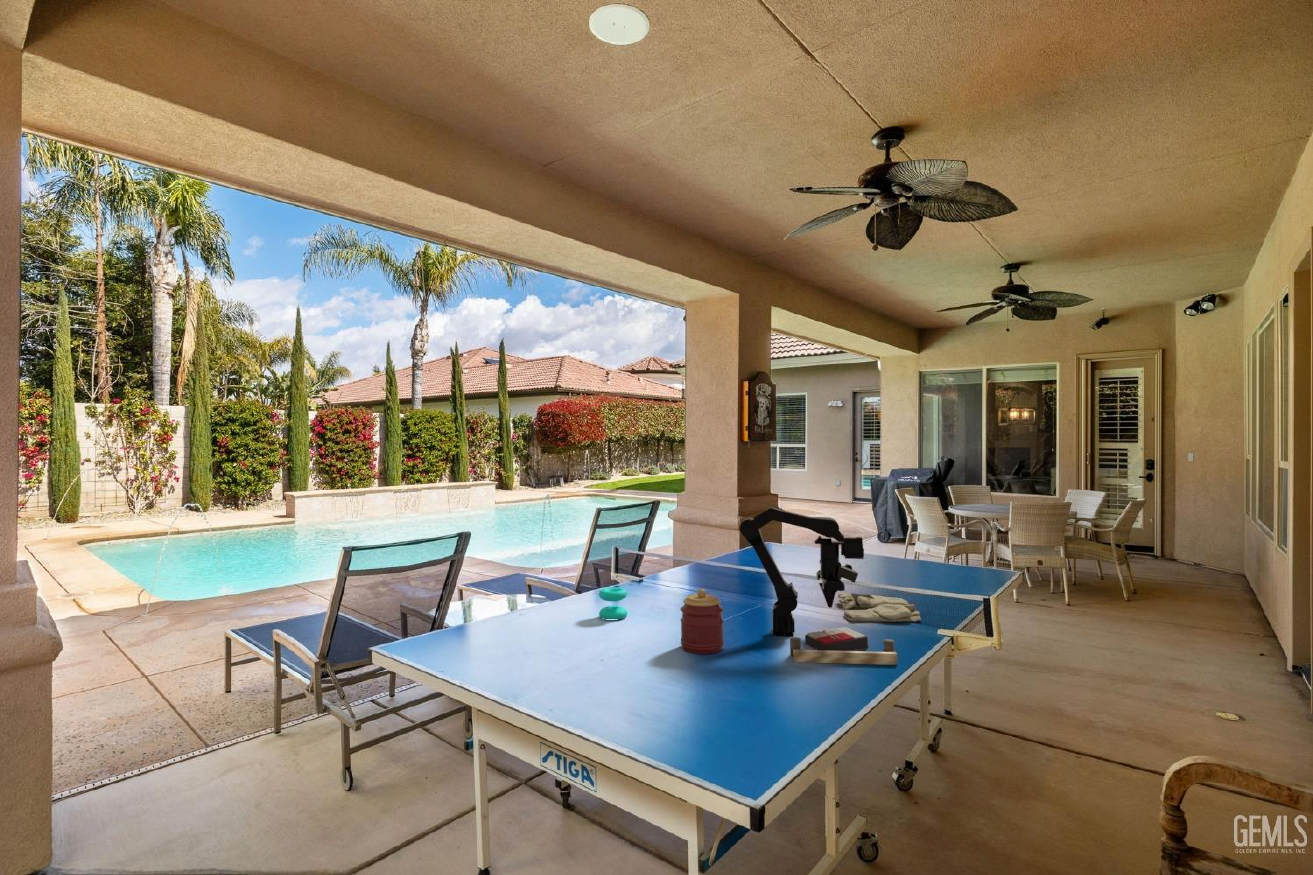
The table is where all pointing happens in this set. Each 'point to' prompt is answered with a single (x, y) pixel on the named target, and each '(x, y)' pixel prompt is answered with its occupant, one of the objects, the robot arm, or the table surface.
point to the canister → (702, 624)
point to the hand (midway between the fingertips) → (830, 607)
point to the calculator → (836, 640)
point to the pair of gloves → (878, 608)
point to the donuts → (613, 595)
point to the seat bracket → (844, 654)
